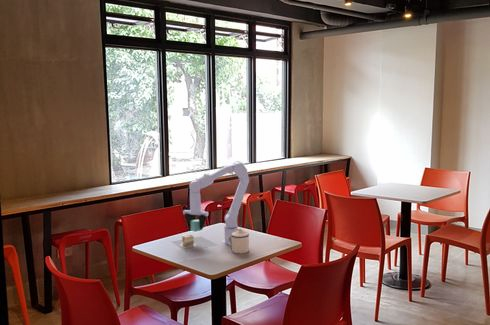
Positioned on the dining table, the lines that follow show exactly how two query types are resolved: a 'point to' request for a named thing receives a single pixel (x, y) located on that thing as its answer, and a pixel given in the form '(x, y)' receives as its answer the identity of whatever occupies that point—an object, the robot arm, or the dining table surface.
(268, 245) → the dining table surface
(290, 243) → the dining table surface
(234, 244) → the teacup with lid
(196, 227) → the teal block
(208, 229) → the dining table surface
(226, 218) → the robot arm
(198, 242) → the gray board
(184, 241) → the birch block
